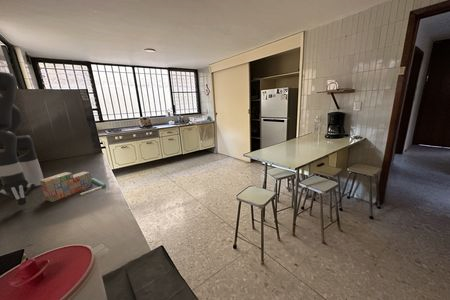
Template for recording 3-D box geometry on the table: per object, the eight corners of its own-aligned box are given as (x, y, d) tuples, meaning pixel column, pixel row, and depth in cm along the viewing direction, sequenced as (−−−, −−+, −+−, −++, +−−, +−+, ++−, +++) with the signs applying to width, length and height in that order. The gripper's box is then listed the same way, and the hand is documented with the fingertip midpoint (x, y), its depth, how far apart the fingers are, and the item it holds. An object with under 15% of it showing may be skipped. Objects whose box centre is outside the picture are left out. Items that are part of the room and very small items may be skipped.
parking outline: (70, 187, 116) (70, 184, 115) (94, 180, 126) (93, 177, 125) (81, 195, 105) (80, 192, 104) (106, 186, 115) (105, 183, 114)
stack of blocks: (87, 184, 120) (82, 166, 117) (93, 186, 117) (88, 167, 114) (45, 200, 101) (39, 179, 98) (51, 202, 98) (45, 181, 95)
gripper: (29, 167, 96) (38, 197, 100) (-11, 175, 86) (1, 208, 90) (32, 169, 92) (42, 200, 96) (-10, 179, 81) (3, 213, 86)
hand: (22, 204), depth 93 cm, fingers closed
